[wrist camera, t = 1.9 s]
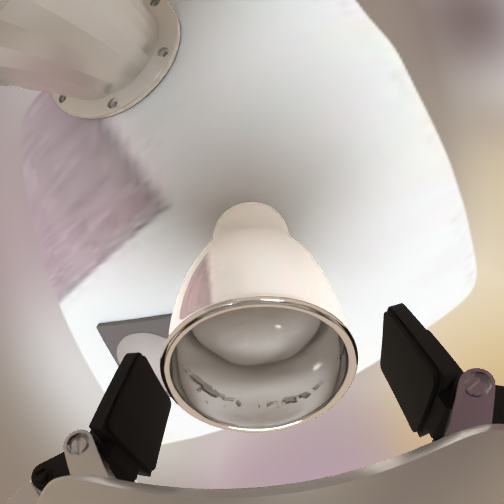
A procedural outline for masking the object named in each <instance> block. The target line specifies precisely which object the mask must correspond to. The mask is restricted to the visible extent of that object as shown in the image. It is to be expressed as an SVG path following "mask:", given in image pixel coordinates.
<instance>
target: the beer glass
mask: <svg viewBox="0 0 504 504" xmlns="http://www.w3.org/2000/svg"><path fill="white" fill-rule="evenodd" d="M357 365H358V352H357V346H356V343H355V340H354V338H353V336H352V334H351V332H350V331H349V328H348V326H347V323H346V320H345V317H344V315H343V312H342V309H341V307H340V305H339V302H338V300H337V297H336V295H335V293H334V291H333V289H332V287H331V285H330V283H329V281H328V279H327V277H326V275H325V274H324V272H323V270H322V269H321V268H320V266H319V265H318V263H317V262H316V260H315V259H314V258H313V256H312V255H311V254H310V253H309V252H308V251H307V250H306V249H305V248H304V247H303V246H302V245H301V244H300V243H298V242H297V241H296V240H295V239H294V238H292V237H291V236H289V231H288V228H287V225H286V222H285V220H284V219H283V217H282V216H281V215H280V214H279V213H278V212H277V211H276V210H275V209H273V208H272V207H270V206H268V205H266V204H263V203H259V202H243V203H239V204H236V205H234V206H232V207H230V208H229V209H227V210H226V211H225V212H224V213H223V214H222V215H221V216H220V218H219V219H218V221H217V223H216V225H215V228H214V231H213V241H211V242H210V243H209V244H208V245H207V246H206V247H205V249H204V250H203V251H202V252H201V253H200V254H199V256H198V257H197V258H196V259H195V261H194V262H193V264H192V266H191V267H190V269H189V271H188V273H187V275H186V277H185V279H184V281H183V283H182V285H181V288H180V291H179V294H178V296H177V299H176V302H175V305H174V309H173V312H172V316H171V320H170V324H169V329H168V333H167V338H166V342H165V344H164V346H163V349H162V353H161V357H160V372H161V377H162V381H163V383H164V386H165V388H166V389H167V391H168V393H169V394H170V396H171V397H172V399H173V400H174V401H175V402H176V403H177V404H178V405H179V406H180V407H181V408H182V409H183V410H185V411H186V412H187V413H189V414H190V415H192V416H193V417H195V418H197V419H199V420H201V421H203V422H205V423H207V424H210V425H212V426H215V427H218V428H222V429H226V430H231V431H237V432H247V433H263V432H273V431H279V430H284V429H288V428H292V427H295V426H298V425H301V424H304V423H306V422H308V421H310V420H312V419H314V418H316V417H318V416H320V415H321V414H323V413H324V412H326V411H327V410H329V409H330V408H331V407H332V406H334V405H335V404H336V403H337V402H338V401H339V400H340V399H341V398H342V397H343V395H344V394H345V393H346V392H347V390H348V389H349V387H350V385H351V383H352V381H353V379H354V377H355V374H356V370H357Z"/></svg>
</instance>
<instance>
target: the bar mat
mask: <svg viewBox="0 0 504 504" xmlns="http://www.w3.org/2000/svg"><path fill="white" fill-rule="evenodd" d="M171 316H172V314H168V315H162V316H155V317H148V318H141V319H134V320H126V321H118V322H110V323H102V324H98V325H97V329H98V331H99V333H100V335H101V337H102V338H103V340H104V342H105V344H106V346H107V347H108V349H109V351H110V353H111V354H112V356H113V358H114V359H115V361H116V363H117V364H118V366H119V365H120V364H121V362H122V360H123V358H124V356H125V355H126V354H127V353H137V352H139V353H141V354H142V355H143V356H145V357H146V358H147V360H148V362H149V363H150V365H151V367H152V369H153V371H154V373H155V374H156V376H157V378H158V380H159V381H160V383H161V385H162V386H163V388H164V390H165V392H166V393H167V395H168V396H169V397H171V396H170V394H169V393H168V391H167V389H166V388H165V386H164V383H163V381H162V377H161V372H160V357H161V353H162V349H163V346H164V344H165V342H166V338H167V333H168V329H169V324H170V320H171Z"/></svg>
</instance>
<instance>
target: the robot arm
mask: <svg viewBox="0 0 504 504" xmlns="http://www.w3.org/2000/svg"><path fill="white" fill-rule="evenodd" d="M180 36H181V33H180V23H179V20H178V17H177V14H176V12H175V11H174V9H173V7H172V6H171V4H170V3H169V2H168V1H167V0H0V85H1V86H9V87H17V88H24V89H31V90H37V91H43V92H49V93H51V94H52V97H53V99H54V101H55V102H56V104H57V105H58V106H59V108H61V109H62V110H63V111H65V112H66V113H67V114H70V115H72V116H75V117H79V118H85V119H100V118H105V117H110V116H113V115H115V114H118V113H121V112H123V111H125V110H126V109H128V108H130V107H132V106H134V105H135V104H136V103H138V102H139V101H140V100H142V99H143V98H144V97H146V96H147V95H148V94H149V93H150V92H151V91H152V90H153V89H154V88H155V87H156V86H157V85H158V84H159V82H160V81H161V80H162V78H163V77H164V76H165V75H166V73H167V72H168V70H169V68H170V66H171V65H172V63H173V61H174V59H175V56H176V53H177V51H178V48H179V42H180ZM165 53H168V54H167V55H166V56H164V57H163V55H164V54H165ZM116 102H117V105H116V107H115V103H116ZM380 365H381V369H382V372H383V374H384V375H385V378H386V380H387V381H388V383H389V385H390V387H391V389H392V391H393V393H394V395H395V397H396V399H397V401H398V403H399V405H400V407H401V409H402V411H403V413H404V415H405V417H406V419H407V421H408V423H409V425H410V427H411V429H412V431H413V432H417V433H418V435H419V437H421V436H424V435H426V434H428V433H429V434H430V436H431V438H433V440H432V442H431V443H429V444H427V445H424V446H422V447H419V448H417V449H415V450H412V451H410V452H407V453H405V454H402V455H399V456H397V457H394V458H391V459H389V460H385V461H382V462H380V463H377V464H373V465H371V466H367V467H364V468H361V469H357V470H353V471H350V472H346V473H342V474H339V475H334V476H330V477H325V478H321V479H315V480H310V481H305V482H298V483H292V484H285V485H277V486H268V487H257V488H242V489H194V488H193V489H192V488H178V487H167V486H157V485H149V484H142V483H139V482H138V480H137V475H142V476H151V472H152V470H154V469H155V467H156V463H157V459H158V455H159V451H160V447H161V443H162V439H163V435H164V431H165V427H166V423H167V419H168V416H169V412H170V408H171V401H170V398H169V396H168V395H167V393H166V392H165V390H164V388H163V386H162V385H161V383H160V381H159V380H158V378H157V376H156V374H155V373H154V371H153V369H152V367H151V365H150V363H149V362H148V360H147V358H146V357H145V356H143V355H142V354H141V353H139V352H137V353H127V354H126V355H125V356H124V358H123V360H122V362H121V364H120V365H119V367H118V369H117V371H116V373H115V375H114V377H113V379H112V381H111V383H110V385H109V387H108V388H107V390H106V392H105V394H104V397H103V398H102V401H101V402H100V404H99V407H98V409H97V411H96V413H95V415H94V417H93V419H92V421H91V423H90V425H89V427H90V428H91V431H90V433H89V432H88V431H86V430H77V431H74V432H73V433H71V434H70V435H69V436H68V437H67V438H66V440H65V441H64V445H63V447H64V452H63V453H61V454H59V455H57V456H55V457H53V458H51V459H49V460H47V461H45V462H43V463H41V464H39V465H38V466H36V468H35V469H34V470H33V473H32V477H31V478H32V482H31V481H30V480H28V481H27V482H26V483H25V484H24V485H23V486H22V487H20V488H19V489H18V490H17V491H16V492H15V493H14V494H12V495H11V496H10V497H9V498H8V499H7V501H6V503H5V504H504V386H498V385H495V380H494V378H493V376H492V375H491V374H490V373H489V372H488V371H486V370H484V369H480V368H473V369H470V370H467V371H466V372H463V371H462V370H461V368H460V367H459V366H458V365H457V363H456V362H455V361H454V360H453V358H452V357H451V356H450V355H449V353H448V352H447V351H446V350H445V349H444V347H443V346H442V345H441V344H440V343H439V341H438V340H437V339H436V338H435V337H434V336H433V334H432V333H431V332H430V331H429V330H426V329H425V328H424V327H423V325H422V324H421V323H420V322H419V321H418V320H417V319H416V317H415V316H414V315H413V314H412V313H411V312H410V311H409V309H408V308H407V307H406V306H405V305H404V304H403V303H401V304H397V305H394V306H391V307H389V308H388V310H387V312H385V313H384V321H383V337H382V350H381V361H380Z"/></svg>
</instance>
